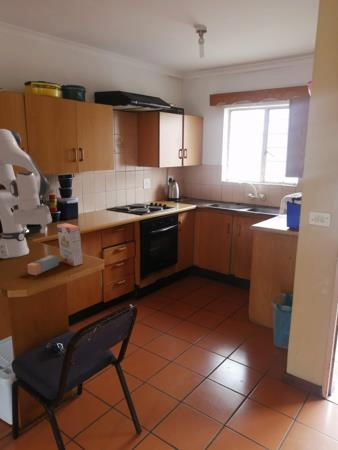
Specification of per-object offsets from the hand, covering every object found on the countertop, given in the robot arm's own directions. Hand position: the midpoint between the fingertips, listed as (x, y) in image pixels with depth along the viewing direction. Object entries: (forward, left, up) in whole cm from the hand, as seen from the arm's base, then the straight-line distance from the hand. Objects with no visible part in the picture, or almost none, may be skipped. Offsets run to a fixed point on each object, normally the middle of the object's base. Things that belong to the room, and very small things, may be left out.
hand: (34, 232), depth 171 cm
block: (-1, -2, -20) cm, 21 cm away
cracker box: (+6, +17, -21) cm, 28 cm away
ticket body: (-1, +6, -20) cm, 21 cm away
